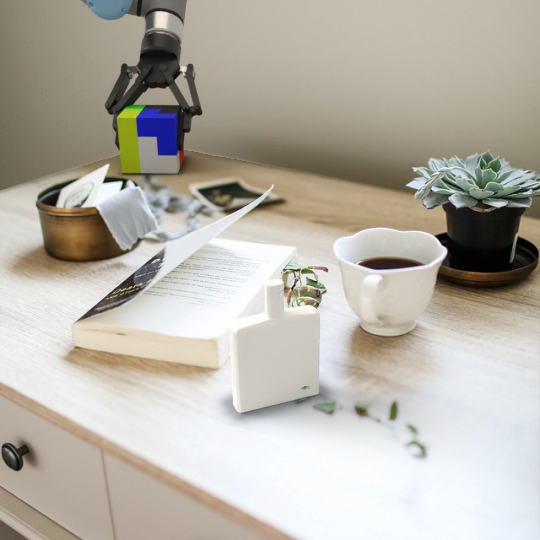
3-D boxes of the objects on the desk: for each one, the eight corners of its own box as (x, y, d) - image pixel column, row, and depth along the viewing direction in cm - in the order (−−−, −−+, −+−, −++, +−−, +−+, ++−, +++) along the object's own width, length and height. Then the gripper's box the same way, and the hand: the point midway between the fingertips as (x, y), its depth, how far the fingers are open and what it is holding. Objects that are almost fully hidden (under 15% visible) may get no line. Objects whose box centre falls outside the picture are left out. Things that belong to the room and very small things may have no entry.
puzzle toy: (177, 173, 121) (174, 118, 116) (122, 173, 121) (116, 117, 116) (184, 157, 130) (181, 105, 125) (132, 156, 130) (128, 104, 125)
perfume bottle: (312, 382, 63) (313, 269, 58) (320, 394, 62) (322, 278, 56) (231, 401, 61) (224, 285, 56) (237, 414, 59) (231, 295, 54)
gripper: (224, 55, 130) (215, 157, 123) (108, 55, 132) (93, 156, 125) (218, 30, 123) (208, 137, 116) (96, 30, 125) (80, 135, 118)
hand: (149, 146), depth 121 cm, fingers closed on puzzle toy, 10 cm apart
